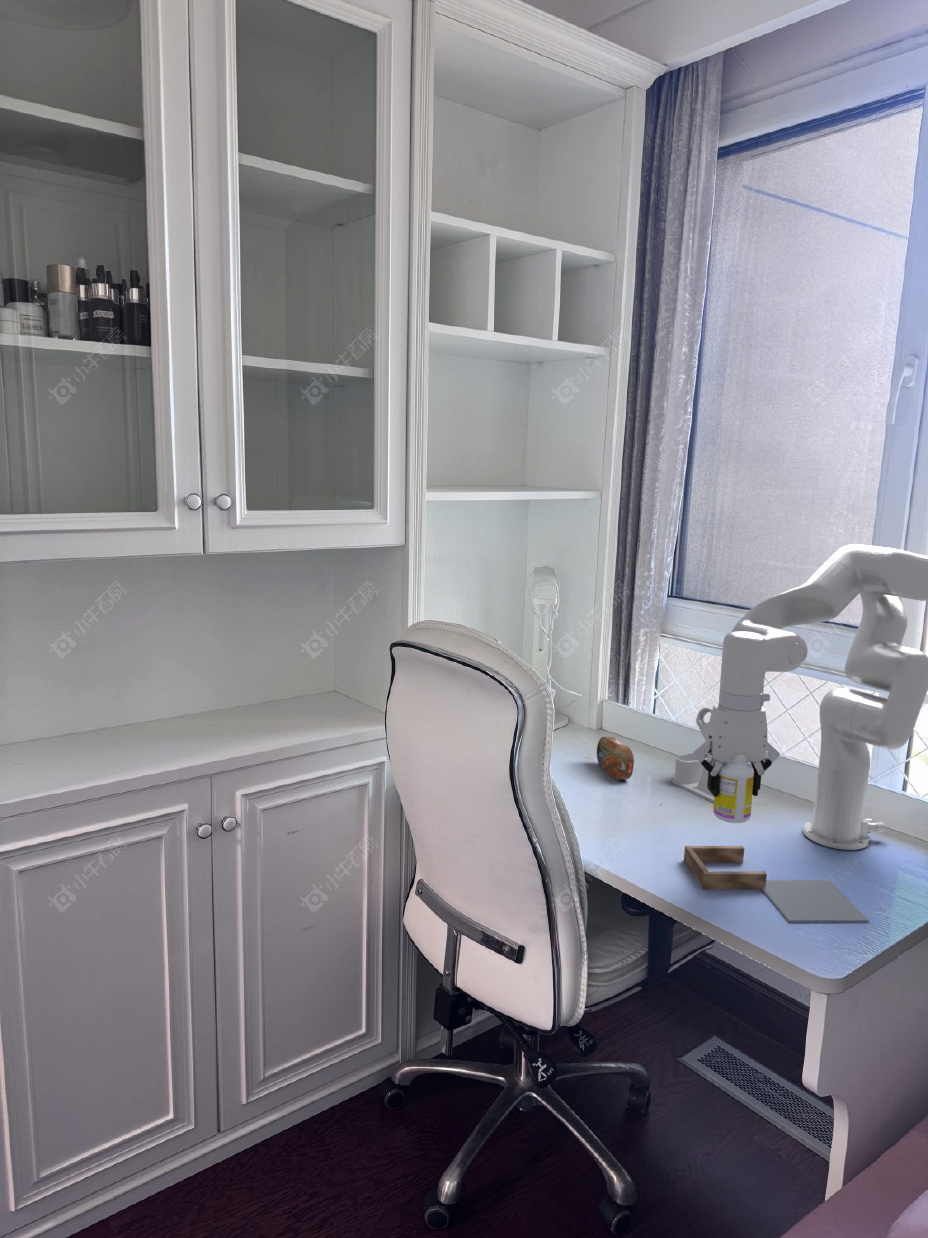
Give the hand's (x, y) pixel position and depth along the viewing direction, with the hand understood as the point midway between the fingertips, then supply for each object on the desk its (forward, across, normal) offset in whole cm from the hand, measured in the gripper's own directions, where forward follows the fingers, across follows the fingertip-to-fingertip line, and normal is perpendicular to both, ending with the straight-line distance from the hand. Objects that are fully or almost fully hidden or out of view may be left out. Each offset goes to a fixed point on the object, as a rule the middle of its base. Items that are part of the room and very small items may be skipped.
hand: (733, 792), depth 158 cm
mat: (+16, -11, +10) cm, 22 cm away
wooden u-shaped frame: (+16, +1, 0) cm, 16 cm away
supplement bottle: (+5, 0, 0) cm, 5 cm away
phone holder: (+17, -12, -41) cm, 46 cm away
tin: (+17, +9, -52) cm, 55 cm away
